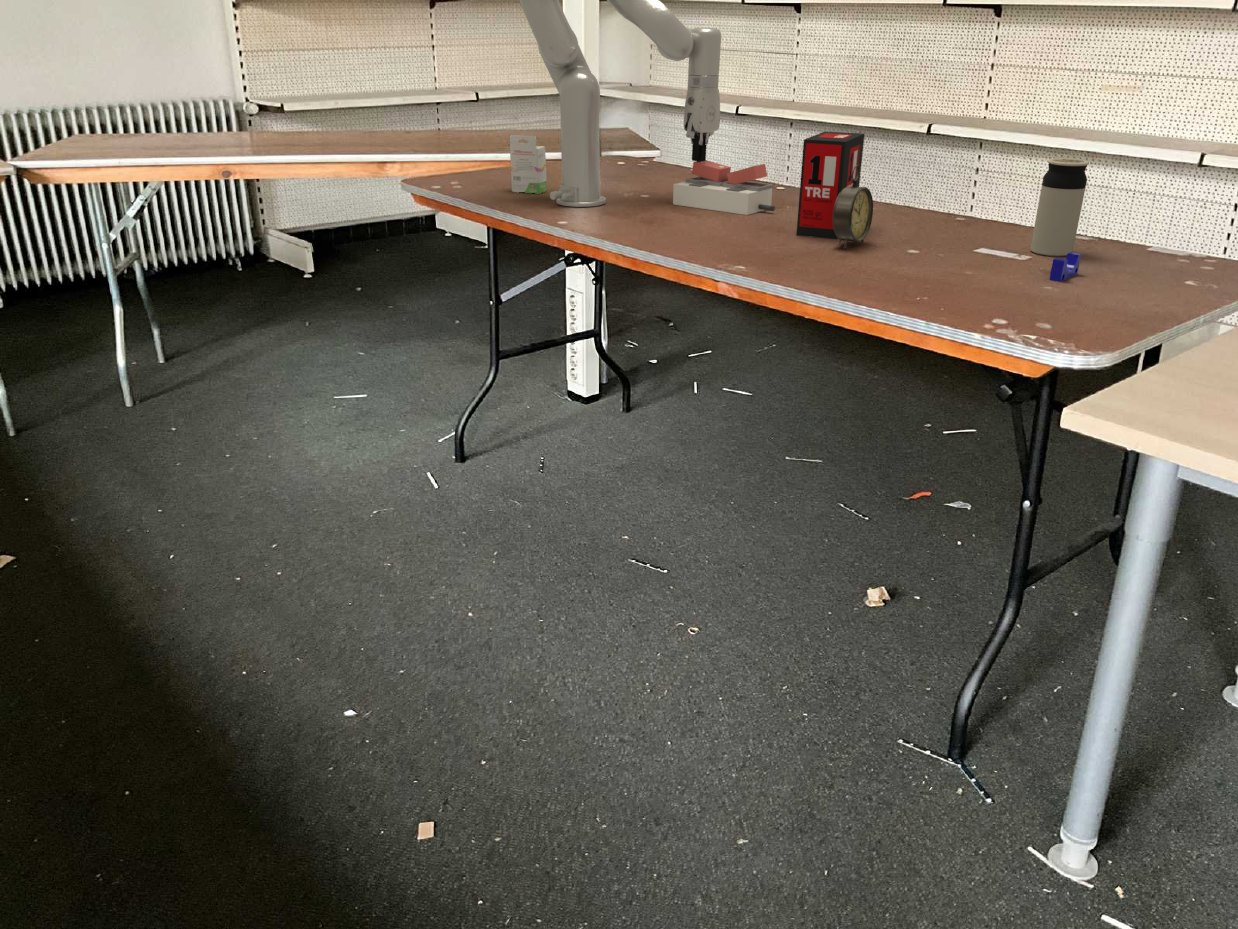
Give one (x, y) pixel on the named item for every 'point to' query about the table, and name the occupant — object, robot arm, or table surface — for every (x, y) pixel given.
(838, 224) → the alarm clock
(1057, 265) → the cable holder
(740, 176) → the block
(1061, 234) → the travel mug
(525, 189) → the ink box
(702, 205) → the power strip
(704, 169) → the rocker
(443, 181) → the table surface
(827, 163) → the cleaning product box
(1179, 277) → the table surface
